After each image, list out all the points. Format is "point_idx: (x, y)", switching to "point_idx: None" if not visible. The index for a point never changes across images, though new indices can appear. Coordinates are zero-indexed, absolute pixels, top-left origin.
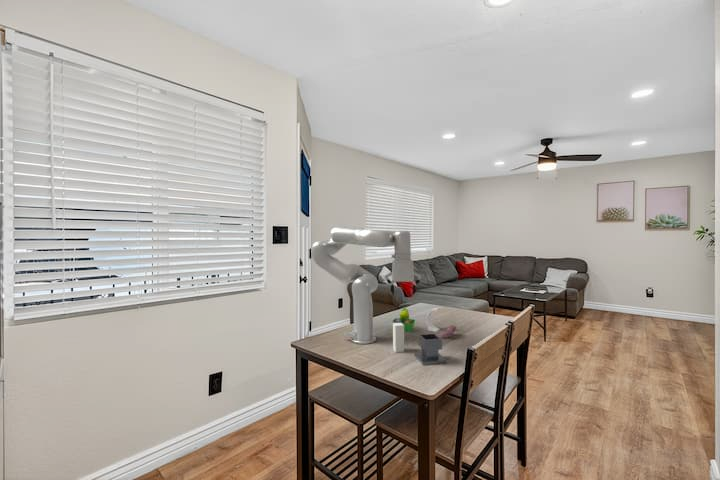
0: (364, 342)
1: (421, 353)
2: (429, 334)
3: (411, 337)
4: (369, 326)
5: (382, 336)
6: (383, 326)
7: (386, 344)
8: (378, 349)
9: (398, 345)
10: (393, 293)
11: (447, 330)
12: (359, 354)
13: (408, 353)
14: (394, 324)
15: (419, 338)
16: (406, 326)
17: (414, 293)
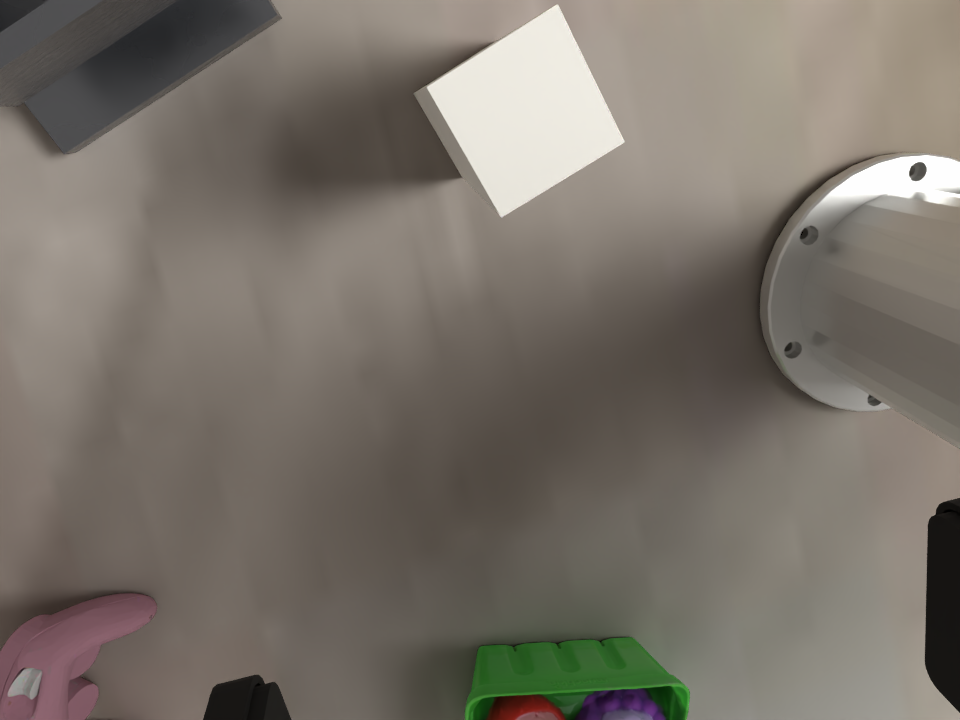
0: (861, 167)
1: (197, 21)
2: (2, 31)
3: (438, 512)
4: (921, 273)
5: (715, 441)
6: (754, 689)
7: (634, 241)
8: (686, 71)
9: (475, 54)
10: (944, 511)
11: (52, 653)
12: None
13: (359, 62)
14: (586, 75)
15: None
16: (527, 672)
17: (212, 691)
